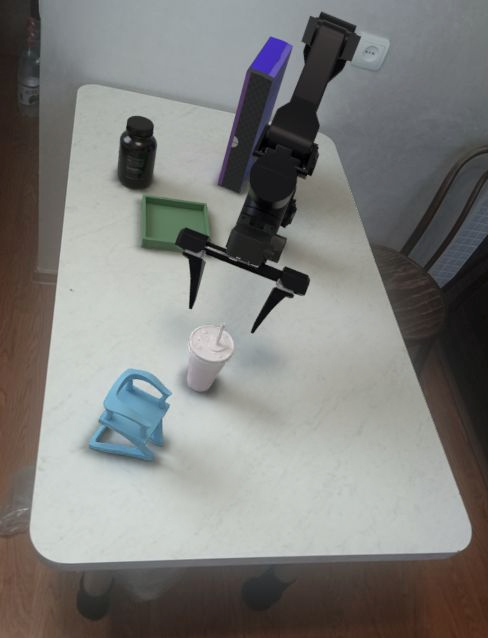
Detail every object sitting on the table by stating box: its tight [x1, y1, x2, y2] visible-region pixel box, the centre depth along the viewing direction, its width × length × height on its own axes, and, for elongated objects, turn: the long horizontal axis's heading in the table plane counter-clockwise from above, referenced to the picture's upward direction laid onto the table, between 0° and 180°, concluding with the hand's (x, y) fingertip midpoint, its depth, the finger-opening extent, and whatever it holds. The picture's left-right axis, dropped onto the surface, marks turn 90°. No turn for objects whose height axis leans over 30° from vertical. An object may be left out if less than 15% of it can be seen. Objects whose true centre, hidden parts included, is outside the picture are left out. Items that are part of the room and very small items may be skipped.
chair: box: [88, 368, 173, 462], centre depth 68 cm, size 8×8×12 cm
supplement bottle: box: [116, 115, 158, 190], centre depth 101 cm, size 7×7×12 cm
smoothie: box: [186, 321, 236, 392], centre depth 75 cm, size 6×6×14 cm
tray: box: [140, 193, 211, 253], centre depth 99 cm, size 12×12×2 cm
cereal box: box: [216, 36, 294, 194], centre depth 108 cm, size 17×5×24 cm, turn 164°
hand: (221, 320), depth 75 cm, fingers open, 9 cm apart
